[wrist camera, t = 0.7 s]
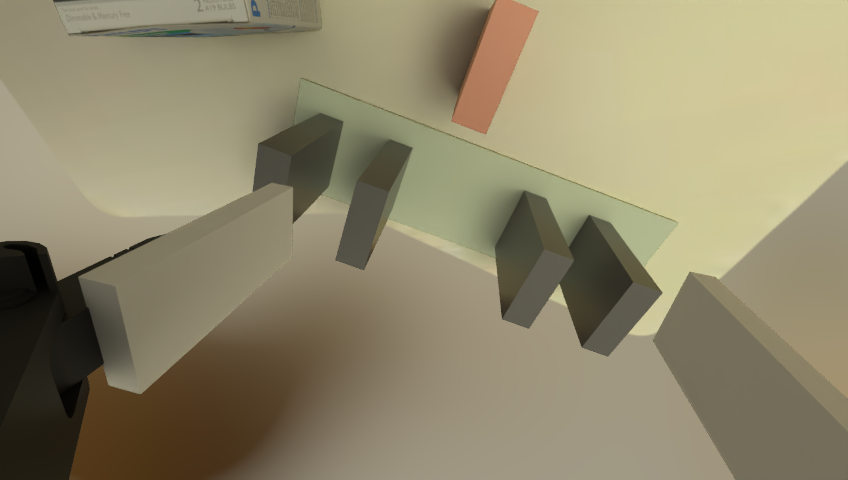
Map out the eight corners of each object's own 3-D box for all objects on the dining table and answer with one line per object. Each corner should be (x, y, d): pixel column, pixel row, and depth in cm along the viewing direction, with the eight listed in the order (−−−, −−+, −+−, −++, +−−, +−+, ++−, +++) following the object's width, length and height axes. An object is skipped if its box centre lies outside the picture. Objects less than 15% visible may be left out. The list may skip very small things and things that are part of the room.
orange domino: (490, 9, 26) (498, -6, 17) (516, 19, 26) (538, 11, 17) (458, 95, 29) (451, 121, 20) (482, 104, 29) (485, 134, 20)
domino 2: (390, 139, 31) (356, 180, 22) (412, 147, 31) (389, 191, 22) (371, 202, 34) (335, 260, 25) (392, 209, 34) (363, 270, 25)
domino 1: (320, 112, 30) (258, 143, 22) (343, 121, 30) (291, 155, 22) (307, 178, 33) (248, 229, 24) (328, 186, 33) (277, 239, 25)
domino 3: (524, 190, 31) (544, 249, 23) (546, 198, 31) (574, 260, 23) (494, 247, 34) (501, 319, 26) (514, 254, 34) (528, 328, 26)
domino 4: (589, 214, 32) (633, 282, 23) (610, 222, 32) (662, 292, 23) (554, 269, 35) (581, 347, 26) (574, 276, 35) (607, 356, 26)
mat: (302, 78, 29) (300, 78, 29) (676, 221, 31) (678, 223, 31) (285, 179, 34) (284, 180, 34) (615, 299, 36) (616, 301, 36)
